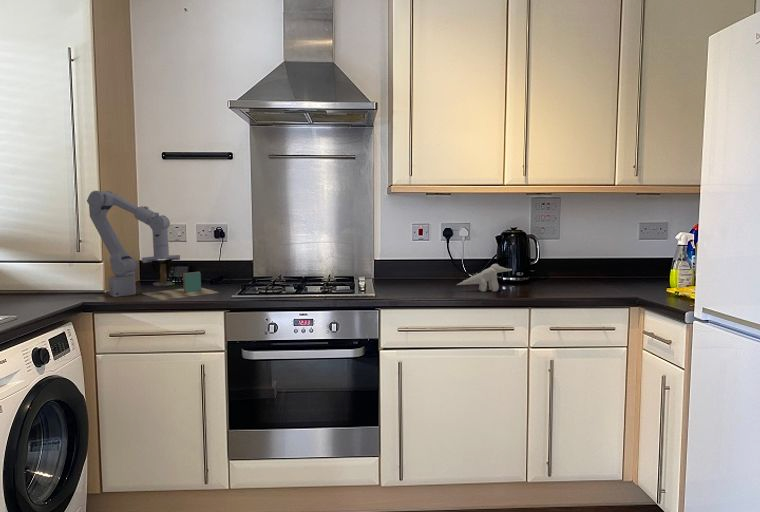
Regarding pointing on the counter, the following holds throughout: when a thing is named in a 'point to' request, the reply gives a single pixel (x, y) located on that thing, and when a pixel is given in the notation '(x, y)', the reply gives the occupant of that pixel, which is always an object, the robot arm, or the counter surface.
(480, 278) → the dinosaur statue
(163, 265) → the wooden post on base
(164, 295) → the board
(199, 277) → the tile
